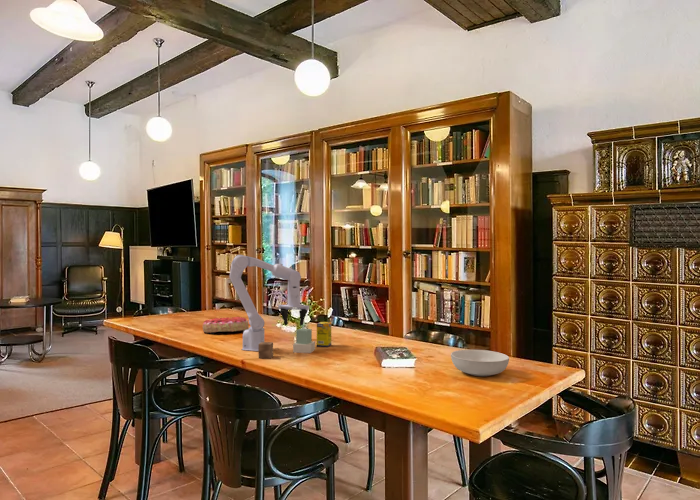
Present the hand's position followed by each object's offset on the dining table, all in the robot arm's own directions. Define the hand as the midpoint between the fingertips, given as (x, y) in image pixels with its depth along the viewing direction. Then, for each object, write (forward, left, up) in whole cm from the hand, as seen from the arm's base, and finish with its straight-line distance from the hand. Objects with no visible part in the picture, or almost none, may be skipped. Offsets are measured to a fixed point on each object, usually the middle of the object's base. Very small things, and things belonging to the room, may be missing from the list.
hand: (293, 325), depth 234 cm
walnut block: (-2, -23, -10) cm, 25 cm away
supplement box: (+12, +8, -11) cm, 18 cm away
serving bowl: (+86, -21, -11) cm, 89 cm away
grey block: (+8, -6, -11) cm, 15 cm away
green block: (+8, -6, -7) cm, 12 cm away
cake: (-55, +28, -11) cm, 63 cm away
